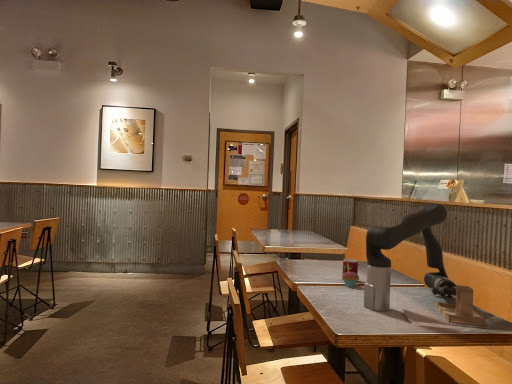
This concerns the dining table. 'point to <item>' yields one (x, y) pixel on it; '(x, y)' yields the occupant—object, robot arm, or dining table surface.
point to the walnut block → (464, 300)
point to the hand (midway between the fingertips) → (455, 296)
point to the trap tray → (451, 317)
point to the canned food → (350, 266)
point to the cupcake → (350, 278)
